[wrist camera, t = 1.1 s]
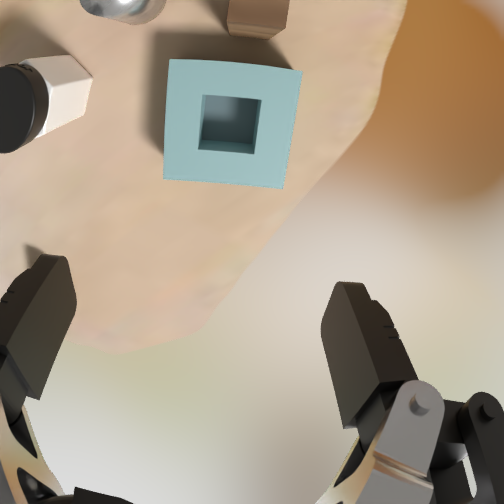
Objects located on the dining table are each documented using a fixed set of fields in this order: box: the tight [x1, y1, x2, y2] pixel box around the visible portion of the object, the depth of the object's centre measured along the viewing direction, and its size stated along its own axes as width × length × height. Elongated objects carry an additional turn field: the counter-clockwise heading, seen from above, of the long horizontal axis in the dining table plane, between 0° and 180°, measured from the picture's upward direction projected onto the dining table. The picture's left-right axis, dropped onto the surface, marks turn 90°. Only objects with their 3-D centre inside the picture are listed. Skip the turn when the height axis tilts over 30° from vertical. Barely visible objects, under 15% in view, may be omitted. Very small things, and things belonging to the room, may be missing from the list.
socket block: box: [163, 59, 303, 189], centre depth 30 cm, size 12×12×5 cm
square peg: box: [227, 0, 290, 40], centre depth 22 cm, size 4×4×12 cm
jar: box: [0, 55, 93, 153], centre depth 24 cm, size 9×8×12 cm
